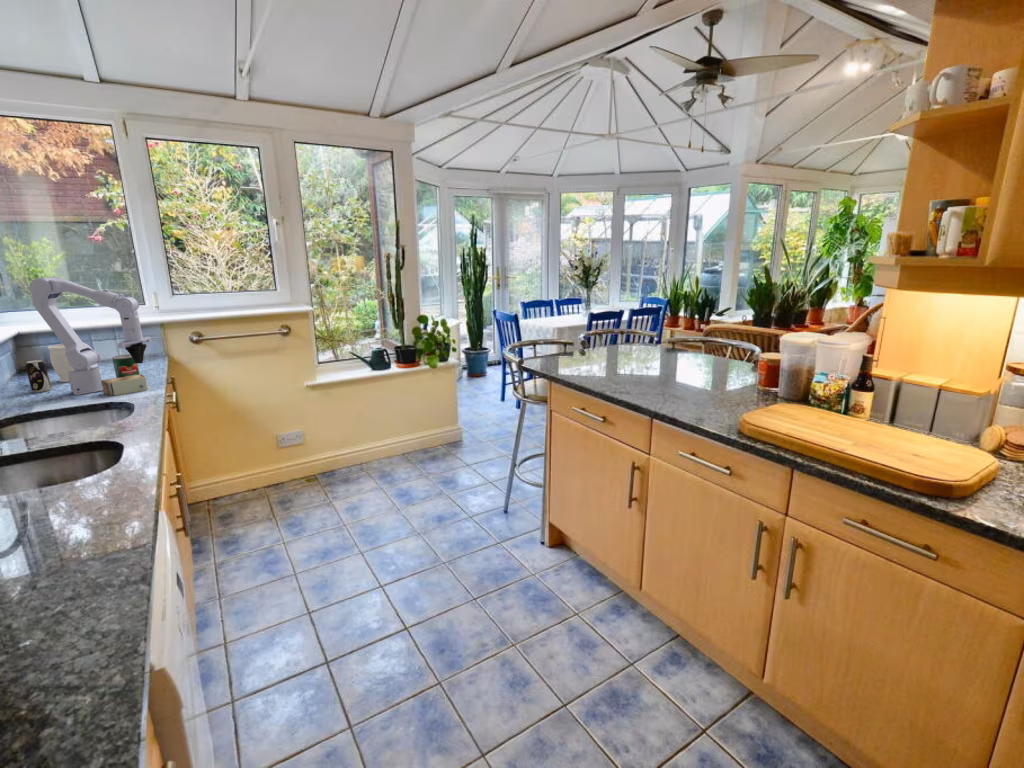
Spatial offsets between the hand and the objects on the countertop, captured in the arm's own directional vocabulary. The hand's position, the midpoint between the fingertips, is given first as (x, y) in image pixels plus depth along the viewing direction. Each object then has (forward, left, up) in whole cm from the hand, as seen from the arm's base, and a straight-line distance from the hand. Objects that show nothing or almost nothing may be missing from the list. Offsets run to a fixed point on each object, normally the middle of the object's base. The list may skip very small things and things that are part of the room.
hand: (139, 363), depth 200 cm
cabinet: (-6, -1, -10) cm, 12 cm away
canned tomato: (-2, +14, -10) cm, 17 cm away
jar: (-17, +38, -10) cm, 43 cm away
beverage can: (-28, +25, -10) cm, 39 cm away
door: (-6, -5, -10) cm, 13 cm away
